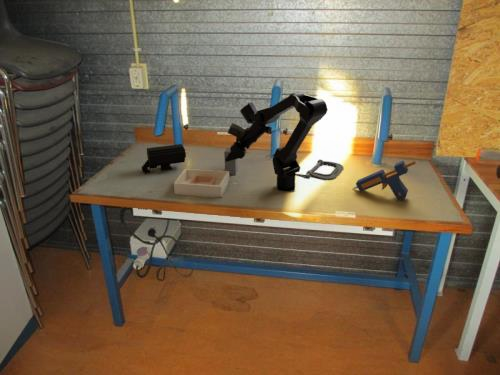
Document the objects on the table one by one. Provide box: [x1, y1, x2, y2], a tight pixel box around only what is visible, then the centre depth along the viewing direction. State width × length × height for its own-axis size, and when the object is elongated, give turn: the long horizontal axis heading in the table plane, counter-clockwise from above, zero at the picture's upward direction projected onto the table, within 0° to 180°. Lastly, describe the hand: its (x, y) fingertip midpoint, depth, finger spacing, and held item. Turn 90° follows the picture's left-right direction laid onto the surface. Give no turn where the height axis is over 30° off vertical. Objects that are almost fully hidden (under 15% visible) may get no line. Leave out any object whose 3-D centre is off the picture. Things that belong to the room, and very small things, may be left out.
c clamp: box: [295, 159, 345, 181], centre depth 168 cm, size 20×17×3 cm
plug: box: [223, 147, 239, 176], centre depth 165 cm, size 4×4×10 cm
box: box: [173, 168, 230, 198], centre depth 153 cm, size 18×14×4 cm
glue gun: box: [352, 160, 417, 201], centre depth 145 cm, size 5×25×12 cm
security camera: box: [141, 143, 187, 175], centre depth 168 cm, size 7×18×10 cm, turn 111°
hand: (227, 156), depth 164 cm, fingers open, 8 cm apart
